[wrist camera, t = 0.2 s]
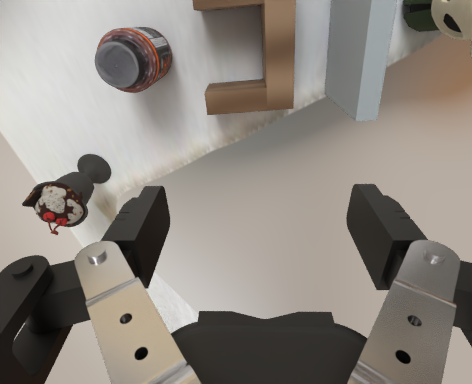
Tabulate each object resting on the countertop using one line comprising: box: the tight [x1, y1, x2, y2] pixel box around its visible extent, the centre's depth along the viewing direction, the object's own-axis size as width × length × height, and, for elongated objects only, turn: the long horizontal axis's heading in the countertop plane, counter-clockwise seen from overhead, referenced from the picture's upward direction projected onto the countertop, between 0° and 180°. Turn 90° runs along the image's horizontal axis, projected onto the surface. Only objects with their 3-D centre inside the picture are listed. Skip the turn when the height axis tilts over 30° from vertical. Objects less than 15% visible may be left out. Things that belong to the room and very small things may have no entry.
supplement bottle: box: [95, 27, 172, 93], centre depth 31 cm, size 6×6×11 cm
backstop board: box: [325, 0, 397, 121], centre depth 30 cm, size 13×2×12 cm, turn 5°
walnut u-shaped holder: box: [193, 0, 296, 115], centre depth 33 cm, size 13×10×6 cm
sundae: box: [22, 154, 111, 235], centre depth 38 cm, size 7×7×15 cm
